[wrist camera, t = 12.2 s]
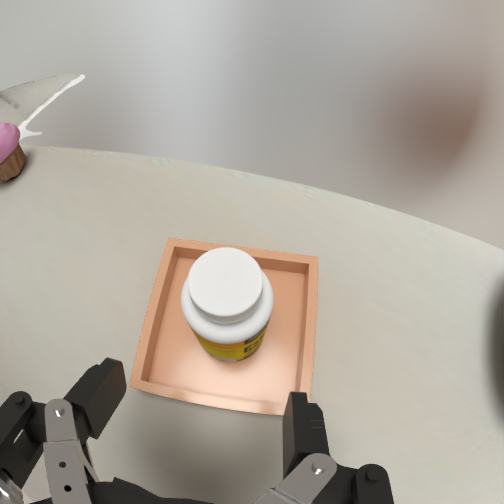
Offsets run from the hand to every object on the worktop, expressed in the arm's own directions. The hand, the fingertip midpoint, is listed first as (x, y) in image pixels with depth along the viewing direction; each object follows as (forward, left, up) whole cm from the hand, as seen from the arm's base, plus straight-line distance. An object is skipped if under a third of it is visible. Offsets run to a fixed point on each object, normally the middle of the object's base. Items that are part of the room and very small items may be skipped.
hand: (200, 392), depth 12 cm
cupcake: (-42, +24, -11) cm, 50 cm away
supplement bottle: (0, +6, -10) cm, 12 cm away
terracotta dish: (0, +6, -11) cm, 12 cm away
